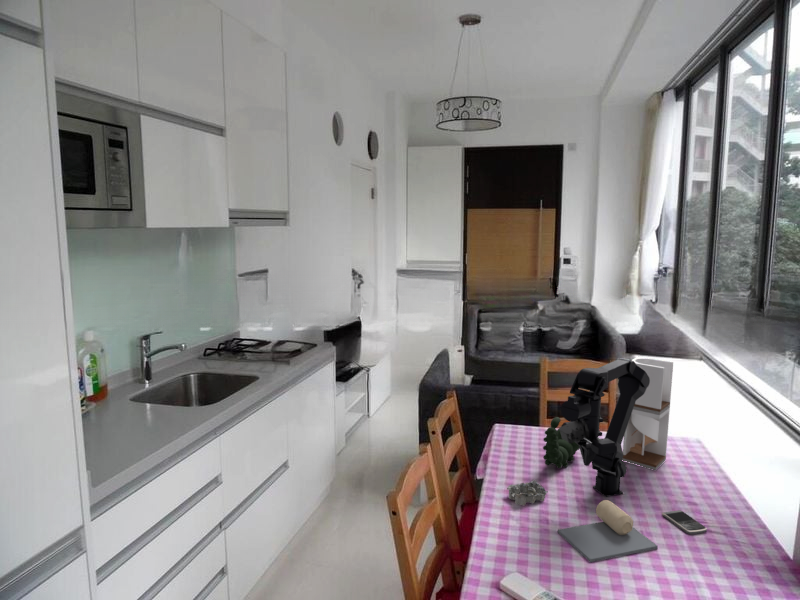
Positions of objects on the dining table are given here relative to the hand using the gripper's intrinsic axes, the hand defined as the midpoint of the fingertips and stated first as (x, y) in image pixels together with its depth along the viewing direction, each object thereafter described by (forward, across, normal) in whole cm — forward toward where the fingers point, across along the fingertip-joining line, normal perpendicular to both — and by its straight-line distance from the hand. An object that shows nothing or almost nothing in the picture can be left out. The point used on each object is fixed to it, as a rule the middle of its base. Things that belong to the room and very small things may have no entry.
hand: (586, 465), depth 167 cm
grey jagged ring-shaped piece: (+12, -9, -14) cm, 21 cm away
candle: (+8, +10, -1) cm, 13 cm away
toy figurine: (+12, -28, +11) cm, 33 cm away
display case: (+12, -20, +38) cm, 45 cm away
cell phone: (+13, +17, +20) cm, 29 cm away
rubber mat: (+12, +18, -6) cm, 22 cm away
